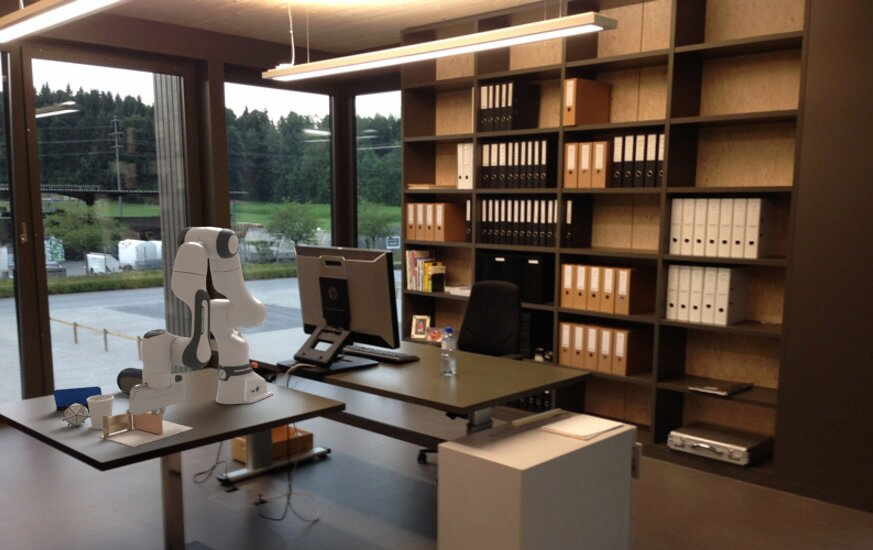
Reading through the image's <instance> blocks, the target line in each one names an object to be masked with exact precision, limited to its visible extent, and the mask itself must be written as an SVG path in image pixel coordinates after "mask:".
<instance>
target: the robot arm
mask: <svg viewBox="0 0 873 550" xmlns="http://www.w3.org/2000/svg"><path fill="white" fill-rule="evenodd" d="M176 244H177V245H176V246H177V248H178V250H177V252H176V255H175V260H174V264H173V269H172V273H171V274H172V275H171V280H170V287H171V290H172V292H173V294H174V295H175V296H176V297H177V298H178V299H180V300H181V301H182V302H184V303H185V304H186V305H187V306H188V307H189V310H190V311H191V332H190V333H191V334H190V335H191V336H190V337H185V336H180V335H176V334H172V333H171V332H169V331H168V330H166V329H163V328H158V329H152V330H150V331H147V332H146V333H144V335H143V336H142V339H141V346H140V347H141V350H140V351H141V357H140V358H141V362H142V364H143V366H142V369H143V370H142V378H143V384H140V385H135V386H134V387H133V388H132V389H131V390H130V393H129V400H128V409H129V412H130V413H131V414H132V415H133V414H134V415H140V414H143V413H146V412H151V413H155V414H162V421H164V415H165V413H166V410H167V407H168V406H173V405H176V404H178V403H182V402H184V401H185V400H186V398H187V393H186V392H187V391H186V383H185V381H184V380H185V375H184V374H181V373H175V372H173V371H172V366H173V365H174V366H179V367H186V368H188V369H193V370H201V369H203V368H204V367H206V366H207V364H208V363H209V362H210V360H211V358H212V354H213V349H212V344H211V343H212V341H211V334H212V335H213V336H214V339H215V342H216V345H217V350H218V364H217V374H218V387H217V392H216V398H215V402H216V403H218V404H222V405H239V404H240V405H241V404H254V403H256V402H258V401H261V400H263V399H266V398H268V397H270V396H273V395H274V392H273V391H272V390H270V389H268V385H267V381H266V379H265V378H264V377H262V376H261V375H259V374H258V373H256V372H255V371H254V369H257V368H258V363H257V362H254V361H252V362H250V351H249V350H250V349H249V348H250V347H249V343H248V342H247V340H246V339H245V338H244V337H241V336H240V335H239V334H237V333H236V331H235V329H251V328H252V329H253V328H258V327H261V326H262V325H263V324H264V323H265V321H266V319H267V315H268V311H267V307H266V305H265V304H264V303H263V302H262V301H261V300H259V299H258V298H256V297H255V296H254V295H253V294H252V293H251V291H249V289H248V287H247V285H246V282H245V280H244V275H243V270H242V269H243V268H242V263H241V257H240V254H239V249H240V238H239V235H238V234H237V232H235V231H234V230H232V229H230V228H221V227H215V226H214V227H213V226H197V227H196V226H188V227H184V228H183V229H181V231H180V232H179V233H178V235H177V238H176ZM208 260H209V261H208ZM208 263H209V268H210V269H209V270H210V274H211V275H210V276H211V282H212V286H213V288H214V289H215V291H216V292H217V293H218V294H221V295H223V296H224V297H226V298H214V299H211V298H210V295H209V293H208V290H207V273H208ZM253 368H254V369H253Z"/></svg>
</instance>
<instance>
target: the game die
mask: <svg viewBox="0 0 873 550" xmlns="http://www.w3.org/2000/svg"><path fill="white" fill-rule="evenodd" d="M84 404H85V403H83V405H82V404H77V403H76V401H75V404H73V405H71V406H69V405H67V407H68V408H67V409H66V410H65V411H61V412H62V414H64V418H63V419H62V421H61V422H64V421H65V422H67V423H68V424H67V426H68V427H69V426H70V425H72V426H75V427H76V429H78V428H79V425H82V424H84V423H85V424H86V420H87V419H91V418H90V415H89V412H88V411H89V408H88V409H87V408H86V407H85V406H84Z"/></svg>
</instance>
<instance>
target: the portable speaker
mask: <svg viewBox="0 0 873 550" xmlns="http://www.w3.org/2000/svg"><path fill="white" fill-rule="evenodd" d="M142 370H143V368H136V367H126V368H124V369H122V370H120V371H119V372H118V375H117V377H116V384H117V387H118V389H119V390H120V391H121V392H123V393H127V394H130V390H131V389H132V388H133V387H134V386H135V385H140V384H143V378H142Z"/></svg>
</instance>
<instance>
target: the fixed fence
mask: <svg viewBox="0 0 873 550" xmlns="http://www.w3.org/2000/svg"><path fill="white" fill-rule="evenodd" d="M125 411H126V412H121V413H118V414H115V415H112V416H111V417H108V415H104V416H103V429H102V432H103V434H102V435H103V436H104V438H103V439H104V440H107V439H106V438H108V437H109V434H111V433H114V432H118V431H121V430H125V429H127V431H132V427H133V414H131V413H130V412H129V408H128V409H126V410H125Z"/></svg>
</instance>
